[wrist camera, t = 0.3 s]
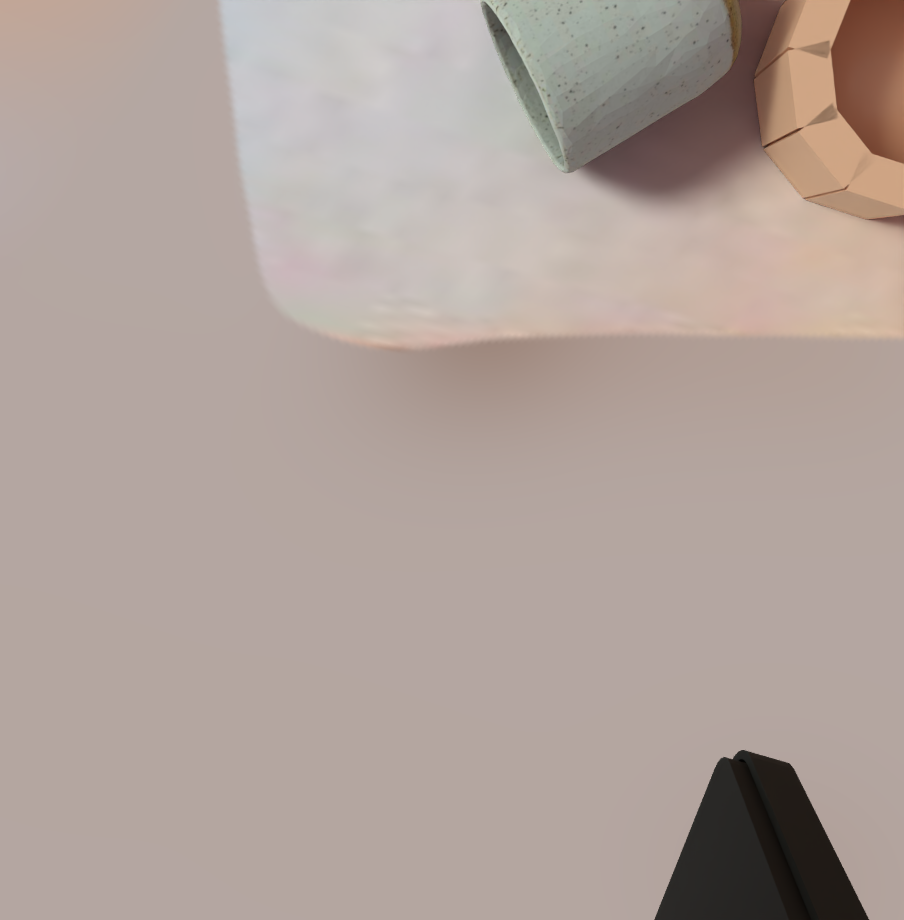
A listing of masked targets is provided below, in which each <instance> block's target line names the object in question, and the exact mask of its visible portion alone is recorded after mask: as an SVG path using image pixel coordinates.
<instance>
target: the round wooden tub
mask: <svg viewBox="0 0 904 920" xmlns="http://www.w3.org/2000/svg"><path fill="white" fill-rule="evenodd" d="M754 76H755V77H756V78H755V79H754V87H755V95H756V103H757V110H758V118H759V126H760V134H761V142H762V146H766V145H768V146H767V147H766V148H765V149H763V150H764V151H765V152H766V153H767V155H768V156H769V157H770V158H771V159H772V161H773V162H774V163H775V164H776V166H777V167H778V168H779V169H780V171H781V172H782V173H783V174H784V175H785V177H786V178H787V179H788V180H789V182H790V183H791V184H792V185H793V187H794V188H795V189H796V190H797V192H798V193H799V194H800V195H801V196H802V198H806V197H807V198H806V200H807V201H810V202H814V203H817V204H820V205H823V206H826V207H829V208H832V209H835V210H838V211H841V212H845V213H848V214H851V215H854V216H857V217H860V218H863V219H877V218H885V217H893V216H901V215H904V0H786V1H785V2H784V3H783V5H782V6H781V7H780V9H779V12H778V15H777V17H776V20H775V22H774V25H773V28H772V30H771V33H770V36H769V38H768V41H767V43H766V46H765V49H764V51H763V54H762V57H761V59H760V62H759V64H758V67H757V70H756V72H755V75H754Z"/></svg>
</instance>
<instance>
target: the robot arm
mask: <svg viewBox="0 0 904 920" xmlns="http://www.w3.org/2000/svg"><path fill="white" fill-rule="evenodd" d="M655 920H869V919H868V917H867V915H866V913H865V911H864V909H863V907H862V905H861V903H860V901H859V899H858V897H857V895H856V893H855V891H854V889H853V887H852V885H851V883H850V881H849V879H848V877H847V874H846V873H845V871H844V868H843V867H842V864H841V862H840V860H839V858H838V857H837V854H836V852H835V850H834V848H833V846H832V844H831V842H830V840H829V838H828V836H827V834H826V832H825V830H824V828H823V827H822V824H821V822H820V820H819V818H818V816H817V814H816V812H815V810H814V808H813V806H812V804H811V802H810V800H809V799H808V797H807V794H806V792H805V790H804V788H803V786H802V784H801V782H800V780H799V778H798V776H797V774H796V772H795V770H794V768H793V767H792V766H791V765H790V764H789V763H786V762H783V761H780V760H776V759H773V758H769V757H766V756H762V755H759V754H755V753H752V752H748V751H745V750H741V751H739V752H738V753H737V754H736V755H735V756H734V758H733V759H729V758H726V757H723V758H721V759H720V761H719V762H718V763H717V765H716V767H715V769H714V772H713V774H712V777H711V779H710V782H709V784H708V787H707V790H706V792H705V795H704V797H703V799H702V802H701V805H700V807H699V809H698V812H697V815H696V817H695V819H694V822H693V824H692V827H691V830H690V832H689V835H688V837H687V839H686V842H685V844H684V847H683V850H682V852H681V855H680V857H679V860H678V862H677V865H676V867H675V870H674V872H673V874H672V877H671V879H670V882H669V885H668V887H667V889H666V892H665V894H664V897H663V899H662V902H661V905H660V907H659V909H658V912H657V915H656V917H655Z"/></svg>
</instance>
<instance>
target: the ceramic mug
mask: <svg viewBox="0 0 904 920" xmlns="http://www.w3.org/2000/svg"><path fill="white" fill-rule="evenodd" d="M481 6H482V11H483V14H484V17H485V20H486V24H487V27H488V30H489V33H490V35H491V37H492V40H493V43H494V46H495V49H496V51H497V53H498V56H499V58H500V61H501V63H502V65H503V68H504V70H505V73H506V75H507V77H508V79H509V81H510V82H511V85H512V87H513V89H514V91H515V94H516V96H517V99H518V101H519V103H520V105H521V107H522V109H523V111H524V112H525V114H526V116H527V118H528V120H529V122H530V125H531V127H532V128H533V130H534V131H535V133H536V136H537V137H538V139H539V140H540V142H541V144H542V145H543V147H544V149H545V151H546V153H547V154H548V155H549V157H550V158H551V160H552V162H553V163H554V164H555V165H556V166H557V167H558V168H559V170H561V171H563V172H564V173H571V172H574V171H575V170H577V169H579V168H580V167H582V166H584V165H585V164H587V163H588V162H590V161H591V160H593V159H595V158H596V157H598V156H600V155H601V154H603V153H605V152H606V151H608V150H610V149H611V148H613V147H615V146H616V145H618V144H620V143H621V142H623V141H625V140H626V139H628V138H629V137H631V136H633V135H634V134H636V133H638V132H639V131H641V130H642V129H644V128H646V127H647V126H649V125H650V124H652V123H654V122H655V121H657V120H659V119H660V118H662V117H664V116H665V115H667V114H669V113H670V112H672V111H674V110H675V109H677V108H679V107H680V106H682V105H684V104H685V103H687V102H689V101H690V100H692V99H694V98H696V97H697V96H699V95H701V94H702V93H703V92H704V91H706V90H707V89H708V88H709V87H711V86H712V85H713V84H714V83H715V82H717V81H718V80H719V79H720V78H721V77H723V76H724V75H725V74H726V73H727V72H728V71H729V70H730V68H731V67H732V65H733V63H734V61H735V60H736V58H737V55H738V51H739V47H740V43H741V30H742V22H741V13H740V7H739V1H738V0H481Z"/></svg>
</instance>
